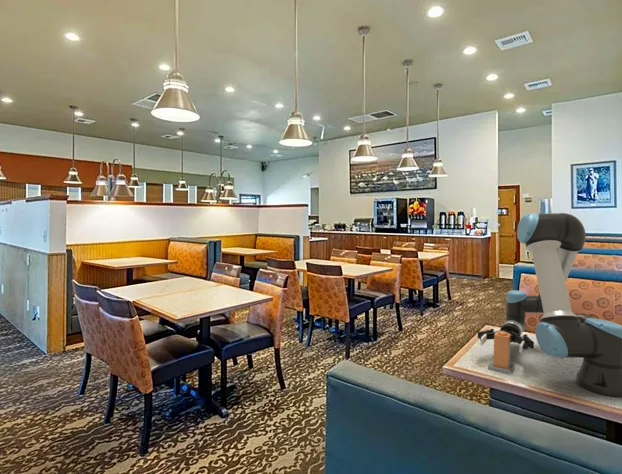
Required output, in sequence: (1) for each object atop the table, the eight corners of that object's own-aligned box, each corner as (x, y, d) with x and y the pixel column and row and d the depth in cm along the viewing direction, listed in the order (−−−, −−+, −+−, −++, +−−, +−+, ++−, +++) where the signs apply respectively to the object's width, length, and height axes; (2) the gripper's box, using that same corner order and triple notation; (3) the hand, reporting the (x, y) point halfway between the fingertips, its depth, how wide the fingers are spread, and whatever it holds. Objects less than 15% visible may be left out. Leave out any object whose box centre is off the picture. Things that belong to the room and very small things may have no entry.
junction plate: (514, 367, 149) (515, 349, 148) (510, 374, 142) (511, 356, 142) (492, 362, 154) (493, 345, 153) (488, 368, 147) (488, 351, 147)
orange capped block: (509, 363, 148) (510, 331, 148) (507, 368, 144) (508, 335, 144) (495, 360, 151) (496, 329, 150) (493, 365, 147) (494, 332, 146)
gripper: (544, 346, 154) (537, 362, 137) (479, 334, 169) (466, 347, 153) (545, 328, 154) (538, 342, 137) (480, 317, 169) (466, 329, 152)
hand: (500, 345), depth 145 cm, fingers open, 13 cm apart
